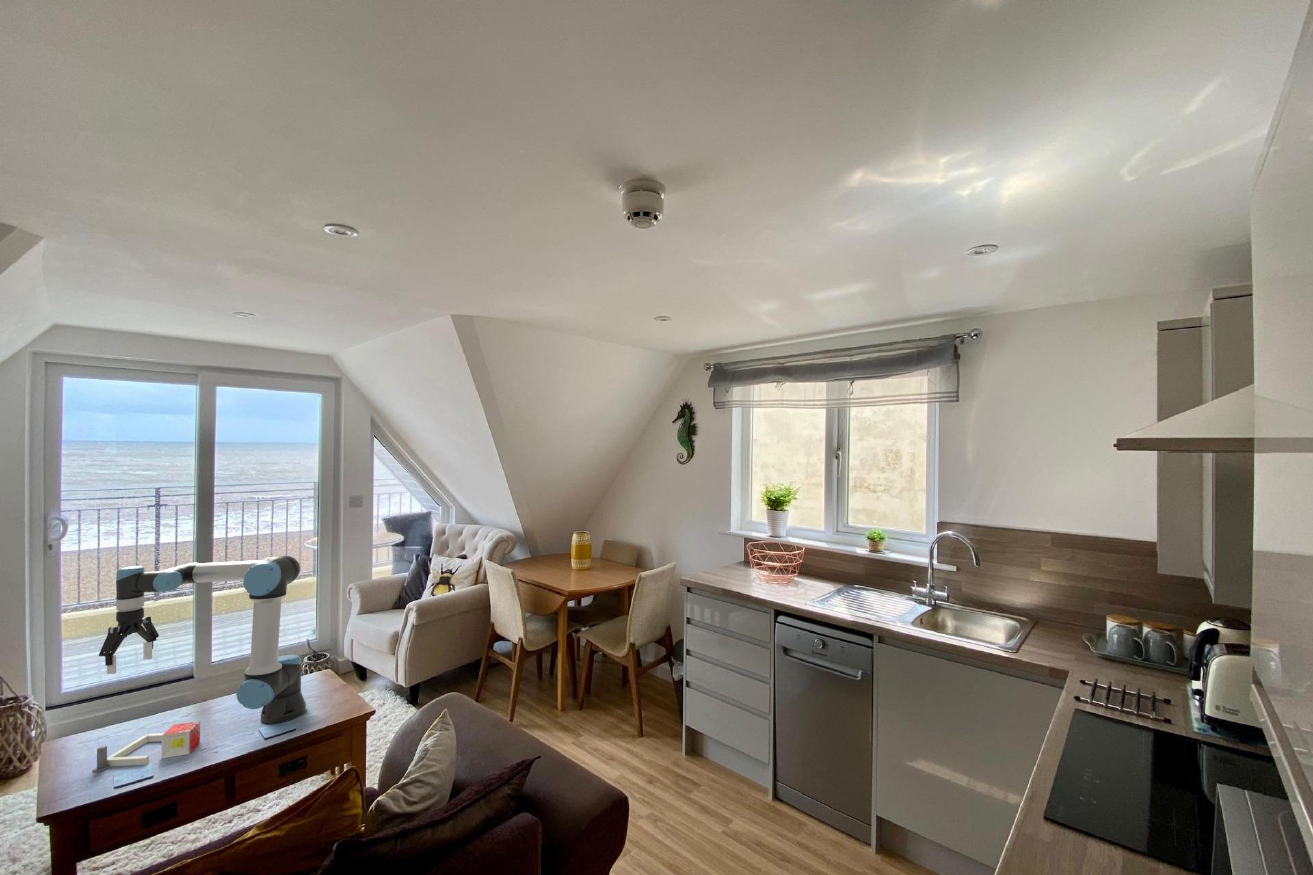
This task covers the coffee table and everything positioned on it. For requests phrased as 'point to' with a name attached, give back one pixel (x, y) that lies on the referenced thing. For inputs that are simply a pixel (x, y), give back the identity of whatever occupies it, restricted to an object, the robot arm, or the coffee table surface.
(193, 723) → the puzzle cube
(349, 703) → the coffee table surface
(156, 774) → the coffee table surface
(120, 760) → the keeper bracket
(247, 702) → the robot arm
